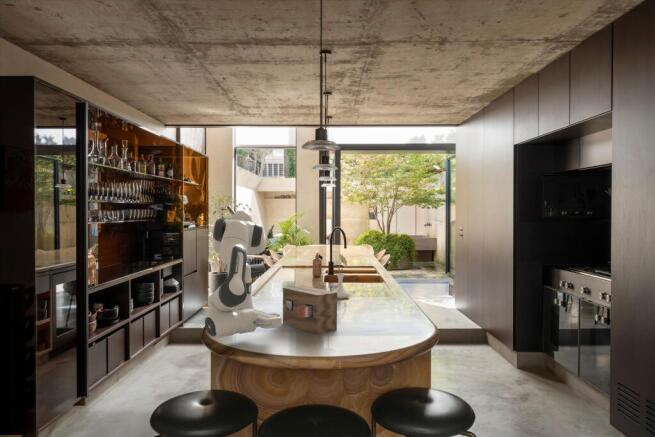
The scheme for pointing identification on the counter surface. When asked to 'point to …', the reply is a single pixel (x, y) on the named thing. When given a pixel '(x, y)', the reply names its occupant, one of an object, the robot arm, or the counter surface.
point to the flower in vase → (340, 290)
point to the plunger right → (305, 311)
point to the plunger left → (289, 305)
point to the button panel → (322, 309)
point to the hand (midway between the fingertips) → (277, 315)
